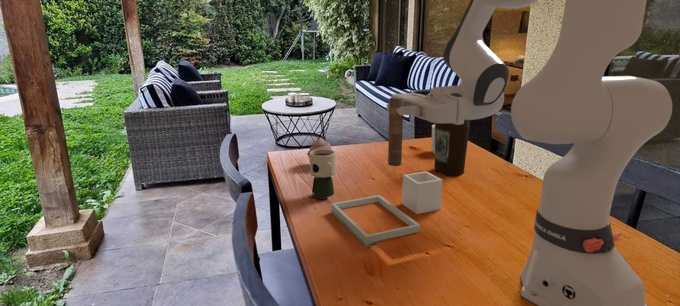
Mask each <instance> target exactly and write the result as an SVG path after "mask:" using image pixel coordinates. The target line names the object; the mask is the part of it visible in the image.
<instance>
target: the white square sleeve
mask: <svg viewBox="0 0 680 306" xmlns="http://www.w3.org/2000/svg"><path fill="white" fill-rule="evenodd" d="M401 191H402V193H401V194H402V195H401V196H402V197H401V204H402V205H403V206H405V208H408V209H409V210H411V211H412V212H413V213H414V214H416V215H420V214H423V213H424V214H425V213H428V212H434V211H440V210H442V198H443V197H442V194H443V179H442V178H440V177H438V176H436V175H434V174H432V173H430V172H428V171H427V170H426V171H425V170H424V171H420V172H414V173H408V174H407V173H406V174H403V175H402V190H401Z"/></svg>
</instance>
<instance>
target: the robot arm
mask: <svg viewBox="0 0 680 306" xmlns="http://www.w3.org/2000/svg"><path fill="white" fill-rule="evenodd" d="M538 1H539V0H470V1H469V3H468V5H467V7H466V8H465V11H464V14H463V15H462V17H461V20H460V21H459V24H458V26H457V28H456V30H455V32H454V33H453V34H452V36H451V38H450V39H449V40H448V41H447V44H445V45H446V46H445V47H444V50H443V57H442V58H443V61H444V64H445V65H446V67H448V68H449V69H450V70H451V71H452V72H453V73H454V74H456V75H457V77H458V78H459V79H460V80H461V81H460V83H459V85H447V86H446V85H445V86H435V87H433V88H432V89H431V90H430V91H429V93H427V94H421V93H414V92H413V93H408V92H407V93H393V94H391V96H390V98H392V97H400V98H403V106H400V107H397V108H396V114H398V115H403V116H412V117H416V118H419V119H422V120H425V121H427V122H429V123H433V124H435V123H451V124H456V125H461V124H464V120H469V121H472V120H480V119H484V118H488V117H490V116H493V115H495V114H497V113H498V112H499V111H501V109H502V108H503V105H504V104H505V103H504V102H505V94H504V91H505V89H506V86H507V84H508V82H509V77H510V69H509V67H508V66H507V65H506V63H505V62H504V61H503V60H502V59H501V58H500V57H499V56H498V55H497V54H496V53H495V52H493V50H491V49H490V47H488V46H487V44H485V41H484V37H483V32H484V30H485V28H486V26H487V25H488V23H489V21H490V19H491V18H492V15H493V14H494V12H495V10H496V9H497V8H503V9H508V10H509V9H522V8H523V9H524V8H527V7H530V6H531V5H534V4H535V3H537V2H538ZM646 6H647V0H565V3H564V10H563V15H562V22H561V27H560V32H559V34H558V35H559V36H558V40H557V41H556V42H557V43H556V45H555V47H554V48H553V51H552V53H551V55H550V57H549V58H548V60H547V61H546V63H545V64H544V66H543V67H542V68H541V69H540V71H538V73H537V74H535V76H533V77H532V78H531V79H530V80H529V81H527V82H526V83H524V84H523V85H522V86H520V88H519V89H518V90H517V92H516V93H515V95H514V98H513V99H512V102H511V106H510V117H511V121H512V125H513V127H514V129H515V130H516V132H517V133H518V134H519V136H520V137H521V138H523V139H524V140H526V141H532V142H537V143H543V144H548V145H549V144H550V145H565V144H567V145H568V144H569V145H570V144H571V145H572V144H573V145H572V147H571V149H569V151H568V152H567V153H566V154H565V155H564V156H563V157H561V158H560V159H558V160H556V161H555V162H553V163H552V164H551V165H550V166H548V168H547V169H546V171H545V172H544V174H543V179H542V185H541V186H542V187H541V192H540V193H541V194H540V195H541V196H540V201H539V207H538V209H537V210H536V214H535V219H534V225H533V229H534V231H535V233H534V239H533V242H532V245H531V246H532V247H531V250H530V252H529V253H530V254H529V256H528V259H527V261H526V264H525V266H524V268H523V270H522V272H521V274H520V281H521V284H522V287H521V290H520V295H521V296H522V297H523V298H524V299H525V300H528V301H530V302H531V303H533V304H535V305H537V306H649V305H647V304H646V290H645V285H644V282H643V280H642V279H641V278H640V276H639V275H638V274H637V273H636V272H635V271H634V269H633V268H632V267H631V266H630V265H629V263H628V262H627V261H626V259H624V257H623V255H622V254H621V253H620V252H619V251H618V250H617V248H616V247H615V242H617V241H620V240H622V238H621V236H622V235H623V233H622V232H620V233H617V234H613V230H612V226H611V222H610V221H609V219H610V213H611V209H612V204H613V200H614V195H615V192H616V188H617V185H618V182H619V179H620V177H621V175H622V173H623V171H624V170H625V168H626V167H627V165H628V164H629V162H631V161H630V160H632V158H633V157H634V155H635V154H636V153H637V152H638V150H640V148H642V146H643V145H644V144H646V143H647V142H648V141H649V140H650V139H652V138H653V137H654V136H657V135H658V134H660V133H661V132H662V131H664V130H665V128H666V127H667V125H668V124H669V121H670V120H671V117H672V114H673V100H672V97H671V94H670V92H669V90H668V89H667V88H666V86H664V85H663V84H662V83H661V82H658V81H657V80H652V79H647V78H644V77H639V76H638V77H637V76H632V75H615V76H614V75H613V76H612V75H611V76H610V75H609V76H608V75H607V76H605V72H606V70H607V68H608V66H609V65H610V63H611V62H612V60H613V59H614V58H615V57H616V56H617V55H619V54H620V52H623V51H625V50H626V49H629V48H630V47H631V46H633V45H634V44H636V42H637V41H638V39H639V38H640V36H641V35H642V29H643V24H644V18H645V12H646ZM386 111H388V112H389V102H388V103H387V104H386Z"/></svg>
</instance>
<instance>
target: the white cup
mask: <svg viewBox="0 0 680 306" xmlns="http://www.w3.org/2000/svg"><path fill="white" fill-rule="evenodd" d="M431 143H432V144H431V149H432V151H431V152H432V154H433V155H435V124H432V125H431Z"/></svg>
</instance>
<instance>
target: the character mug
mask: <svg viewBox="0 0 680 306" xmlns="http://www.w3.org/2000/svg"><path fill="white" fill-rule="evenodd" d="M309 151H310V150H309ZM309 156H310V158H309ZM309 156H308V158H309V174H310V175H311V176H312V177H313V180H312V181H313V182H312V190H311V195H313V198H315V199H323V200H324V199H327V198H330V197H333V195H335V192H334V191H335V188H334V183H333V178H332V176H335V174H336V172H337V171H336V170H337V169H336V151H335V150H332V149H331V150H330V149H316V150H312V151H310V153H309Z"/></svg>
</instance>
